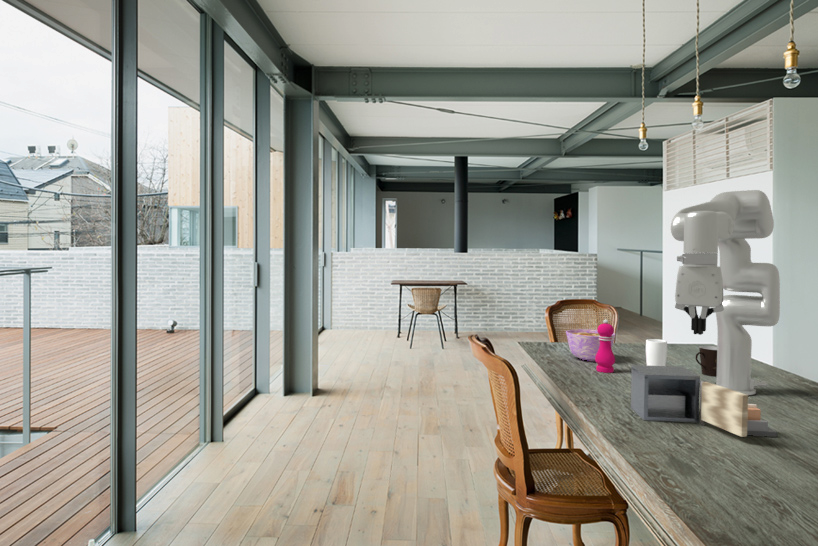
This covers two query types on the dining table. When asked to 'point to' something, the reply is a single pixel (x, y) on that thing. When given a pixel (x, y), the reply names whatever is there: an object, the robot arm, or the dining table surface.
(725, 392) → the door
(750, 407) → the knob
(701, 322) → the robot arm
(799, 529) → the dining table surface
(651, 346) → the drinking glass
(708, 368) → the coffee mug
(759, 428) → the panel
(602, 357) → the pepper mill
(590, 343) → the bowl of food
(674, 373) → the cabinet
